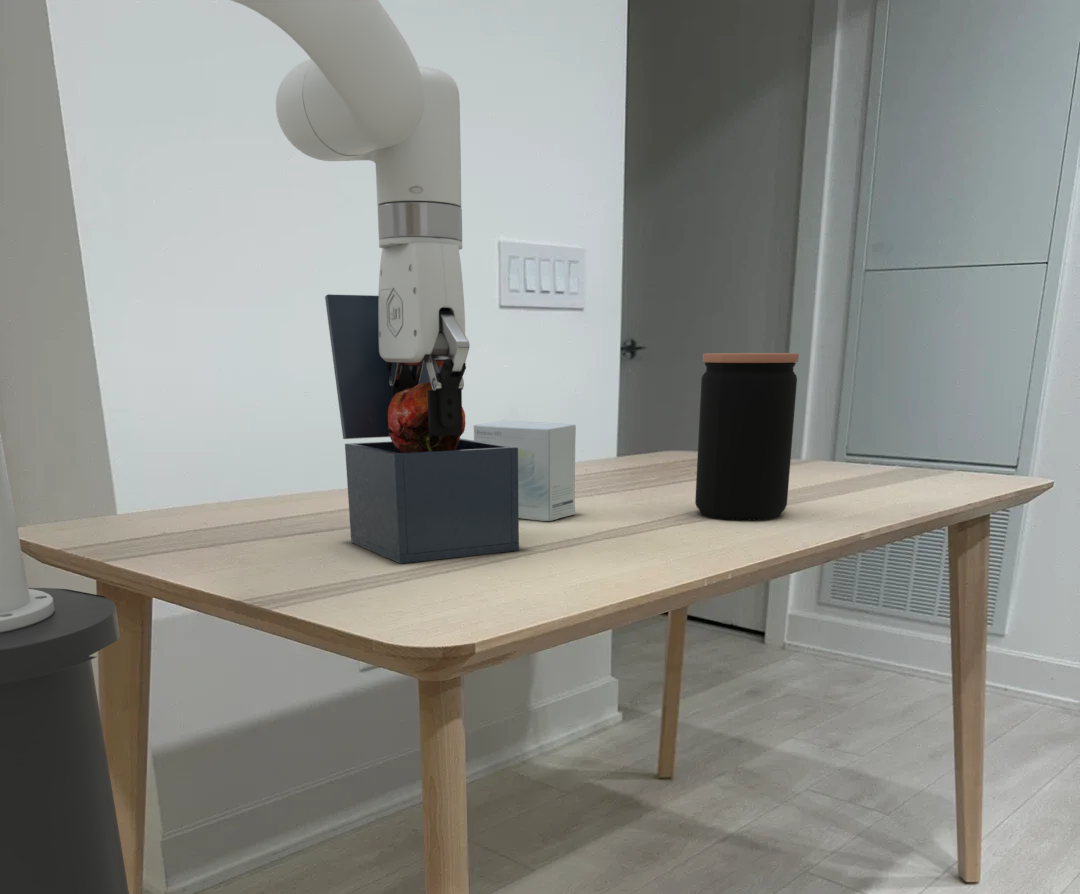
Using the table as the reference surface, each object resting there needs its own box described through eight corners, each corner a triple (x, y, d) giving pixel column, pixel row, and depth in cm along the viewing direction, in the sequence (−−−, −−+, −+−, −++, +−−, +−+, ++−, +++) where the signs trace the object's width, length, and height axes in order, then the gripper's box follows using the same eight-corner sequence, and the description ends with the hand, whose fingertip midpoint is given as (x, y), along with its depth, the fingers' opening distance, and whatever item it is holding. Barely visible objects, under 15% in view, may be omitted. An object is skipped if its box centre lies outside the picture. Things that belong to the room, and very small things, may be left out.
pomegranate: (472, 485, 97) (467, 414, 102) (463, 425, 91) (458, 354, 96) (395, 493, 97) (394, 422, 102) (380, 434, 91) (381, 362, 96)
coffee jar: (803, 514, 120) (817, 353, 114) (751, 524, 113) (763, 353, 107) (729, 505, 127) (739, 353, 121) (676, 514, 120) (683, 353, 114)
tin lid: (446, 297, 103) (443, 298, 104) (327, 294, 97) (324, 296, 98) (460, 433, 105) (457, 433, 106) (345, 438, 99) (342, 439, 100)
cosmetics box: (473, 514, 120) (471, 423, 117) (503, 508, 126) (502, 419, 122) (548, 522, 115) (548, 426, 112) (576, 514, 120) (577, 423, 117)
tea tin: (519, 550, 99) (518, 447, 96) (400, 563, 93) (394, 454, 90) (461, 531, 109) (459, 437, 106) (351, 542, 103) (344, 443, 100)
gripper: (346, 236, 97) (356, 428, 103) (422, 217, 82) (428, 440, 88) (418, 241, 100) (424, 426, 106) (503, 223, 86) (504, 437, 92)
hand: (426, 431), depth 97 cm, fingers closed on pomegranate, 7 cm apart
